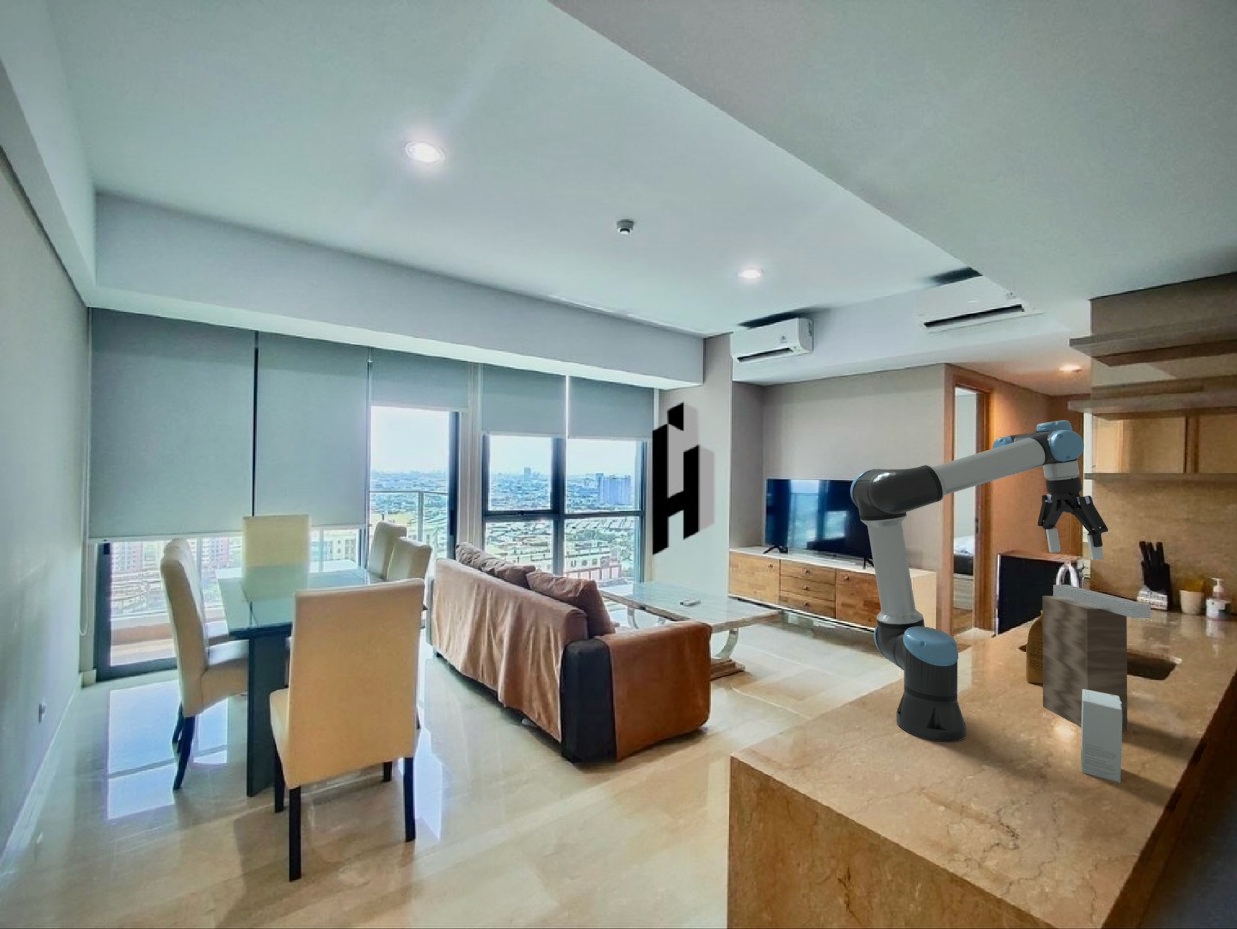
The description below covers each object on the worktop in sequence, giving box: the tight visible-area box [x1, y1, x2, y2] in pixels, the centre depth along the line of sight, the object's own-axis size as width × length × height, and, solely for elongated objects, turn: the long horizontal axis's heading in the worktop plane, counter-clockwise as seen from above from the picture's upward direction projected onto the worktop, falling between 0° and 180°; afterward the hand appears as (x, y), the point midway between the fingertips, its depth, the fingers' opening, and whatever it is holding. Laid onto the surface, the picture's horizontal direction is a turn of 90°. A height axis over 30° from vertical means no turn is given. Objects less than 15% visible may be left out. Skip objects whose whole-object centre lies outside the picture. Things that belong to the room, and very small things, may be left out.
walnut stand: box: [1042, 595, 1128, 731], centre depth 145 cm, size 14×10×30 cm
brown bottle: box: [1025, 609, 1043, 685], centre depth 170 cm, size 10×12×22 cm
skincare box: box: [1080, 689, 1123, 784], centre depth 119 cm, size 8×7×16 cm
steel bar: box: [1052, 584, 1152, 619], centre depth 140 cm, size 23×4×3 cm, turn 2°
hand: (1075, 555), depth 151 cm, fingers open, 13 cm apart
